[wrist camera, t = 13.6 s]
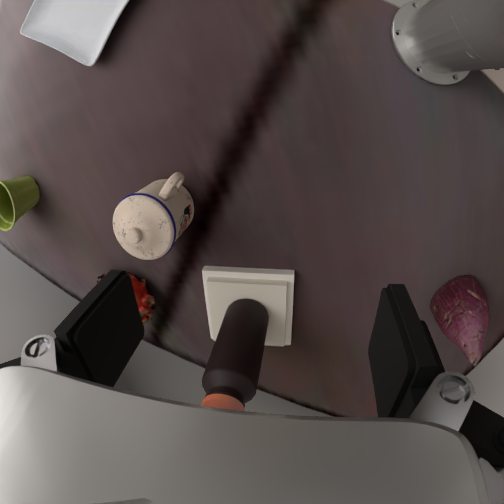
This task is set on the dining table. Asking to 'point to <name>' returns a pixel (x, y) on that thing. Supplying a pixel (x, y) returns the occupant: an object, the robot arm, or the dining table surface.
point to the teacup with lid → (153, 218)
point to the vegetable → (463, 314)
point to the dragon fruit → (141, 298)
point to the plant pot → (16, 199)
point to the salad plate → (73, 26)
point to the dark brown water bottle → (236, 356)
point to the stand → (251, 297)
